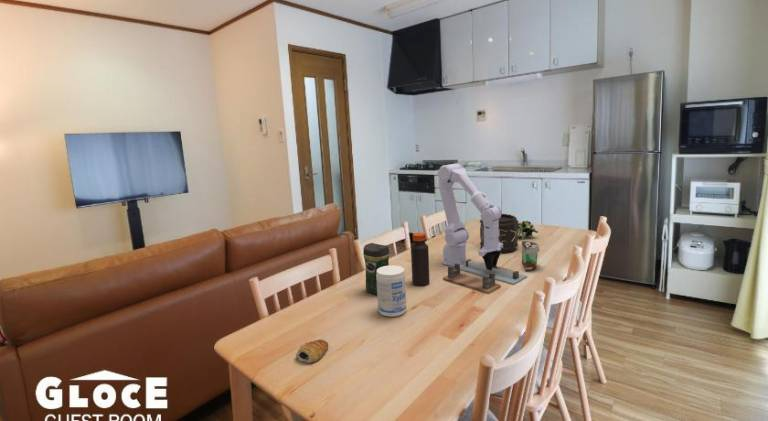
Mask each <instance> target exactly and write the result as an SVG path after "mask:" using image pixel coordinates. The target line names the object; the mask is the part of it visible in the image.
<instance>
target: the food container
mask: <svg viewBox="0 0 768 421" xmlns="http://www.w3.org/2000/svg"><path fill="white" fill-rule="evenodd" d="M540 249H541V248H540V245H539V244H538V243H537V242H535V241H530V240H521V264H522V267H523V270H524V272H533V271H535V270H536V269H537V262H538V254H539V252H540V251H541V250H540Z"/></svg>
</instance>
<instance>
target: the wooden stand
mask: <svg viewBox="0 0 768 421" xmlns="http://www.w3.org/2000/svg"><path fill="white" fill-rule="evenodd" d="M481 277H482V278H478V277H474V276H471V275H469V274H468V275H467V274H464V273H461V270H460V264H457V263H455V264H454V267H453V266H449V265H447V275H445V276H444V277H442V281H445V282H448V283H453V284H455V285H458V286H461V287H465V288H468V289H471V290H475V291H477V292H481V293H484V294H487V295H490V294H492V293H493V292H495V291H497V290H499V289H500V288H501V284H499V283H496V280H495V273H491V272H490V273H489V277H488V276H481Z"/></svg>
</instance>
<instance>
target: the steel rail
mask: <svg viewBox="0 0 768 421" xmlns="http://www.w3.org/2000/svg"><path fill="white" fill-rule="evenodd" d="M466 267H470V268H474V269H478V270H482V271H485V272H489V273H490V272H491V273H495V274H497V275H500V276H504V277H508V278H512V279H515V280H516V279H517V278H519V274H520V272H519V271H517V270H512V269H508V268H504V267H501V266H497V265H496V266H492V270H488V269H486V265H485V262H481V261H476V260H472V259H466Z"/></svg>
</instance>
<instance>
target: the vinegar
mask: <svg viewBox="0 0 768 421" xmlns="http://www.w3.org/2000/svg"><path fill="white" fill-rule="evenodd" d="M412 242H413V243H412V244H411V246H410V258H411V259H410V260H411V263H410V264H411V278H412V279H411V280H412V281H411V283H412V284H413V285H414V286H416V287H425V286H427V285H429V284H430V256H429V246H428V244H427V243H426V233H425V232H414V233H412Z"/></svg>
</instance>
